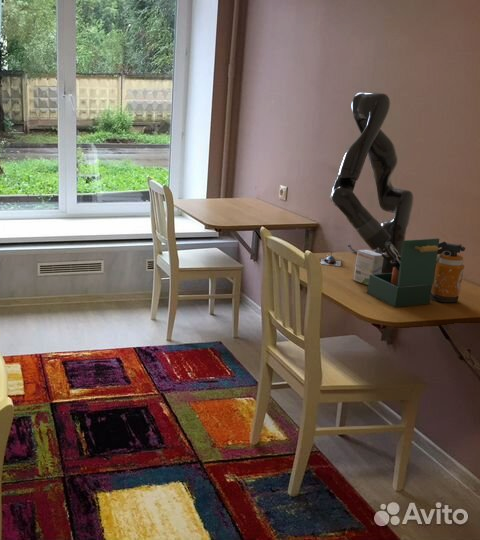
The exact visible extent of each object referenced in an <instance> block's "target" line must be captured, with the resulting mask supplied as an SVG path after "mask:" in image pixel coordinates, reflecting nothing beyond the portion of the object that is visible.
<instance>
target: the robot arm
mask: <svg viewBox="0 0 480 540" xmlns="http://www.w3.org/2000/svg"><path fill="white" fill-rule="evenodd" d="M390 108H391V100H390V97H389V95H387V94H386V93H384V92H369V91H364V92H363V91H362V92H358V93H356V94H355V95H354V97H353V98H352V100H351V114H352V117H353V119H354V122H355V123H356V126H357V128H358V131H359V133H360V134H359V137H357V138H356V139H355V141H353V143H352V144H351V145H350V146H349V147H348V149H347V150H346V151H345V154H344V155H343V158H342V161H341V164H340V167H339V170H338V174H337V177H336V179H335V182H334V185H333V187H332V189H331V192H330V196H329V200H330V202H331V204H332V205H334V206H335V207H337V208H338V209H339V211H340V212H341V213H342V214H343V215H344V216H345V217H346V220H347V221H348V223H349V224H350V225H351V226H352V227H353V228H354V229H355V230H356V232H357V234H358V235H359V237H360V239H362V240H363V241H364V242H365V243H366V245H367V246H368V247H369V248H370V249H371V251H374V252H376V253H379V254H381V255H382V257H384V258H383V264H382V272H381V274H383V273H392V271H393V267H395V268H396V269H397V270H398V271H399V270H400V261H399V260H401V253H402V244H403V241H405V240H406V235H407V229H408V226H409V224H410V219H411V215H412V210H413V206H414V194H413V192H412V191H411V190H408V189H402V188H397V187H394V186H393V184H392V179H391V178H392V176H393V174H394V172H395V170H396V168H397V165H398V161H399V160H398V155H397V151H396V150H397V149H396V147H395V144H394V143H393V141H392V140H391V138H390V137H389V136H388V135H387V134H386V133H385V132H384V131H383V130H382V129H381V128H382V126H383V124H384V123H385V121H386V119H387V116H388V114H389V111H390ZM367 158H368V162H369V164H370V168H371V171H372V174H373V179H374V183H375V188H376V189H375V190H376V194H377V201H378V205H379V207H380V209H381V210H382V211H384V212H386V213H392V214H394V216H393V219H390V220H385V221H382V222H381V223H380V221H378V220H377V219H376V218H375V217H374V216H373V215H372V214H371V213H370V211H369V210H368V209H367V208H366V207H365V206H364V205H363V204H362V202H361V201H360V199H359V198H358V197H357V195H356V194H355V193H354V190H355V186H356V184H357V181H358V180H359V178H360V176H361V173H362V171H363V168H364V165H365V162H366V159H367ZM347 247H348V248H349V249H350V250H351V251H352V252H353V253H355V254H357V250H355V249H353V248H352V244H348V245H347ZM394 261H395V262H394Z"/></svg>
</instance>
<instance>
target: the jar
mask: <svg viewBox="0 0 480 540" xmlns="http://www.w3.org/2000/svg"><path fill="white" fill-rule="evenodd" d="M399 261H401V260H399ZM394 262H395V261H394ZM398 278H399V271H398V270H397V269H396V268H395V267H393V271H392V277H391V284H393V285H395V286H397V287H398ZM402 287H404V286H402Z"/></svg>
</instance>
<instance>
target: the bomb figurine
mask: <svg viewBox="0 0 480 540" xmlns="http://www.w3.org/2000/svg"><path fill="white" fill-rule="evenodd" d="M332 254H333V249H330V255H329V254H327V255H326V257H324V258H320V263H321V264H320V265H326V266H336V267H341V266H342V260H336V258H335V257H334V256H332Z"/></svg>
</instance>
